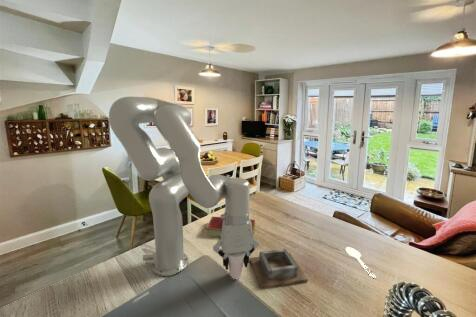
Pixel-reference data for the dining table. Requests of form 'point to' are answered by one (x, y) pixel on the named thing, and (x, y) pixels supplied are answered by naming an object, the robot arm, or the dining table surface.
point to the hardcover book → (219, 226)
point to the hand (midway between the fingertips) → (235, 265)
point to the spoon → (357, 255)
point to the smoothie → (235, 264)
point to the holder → (277, 269)
